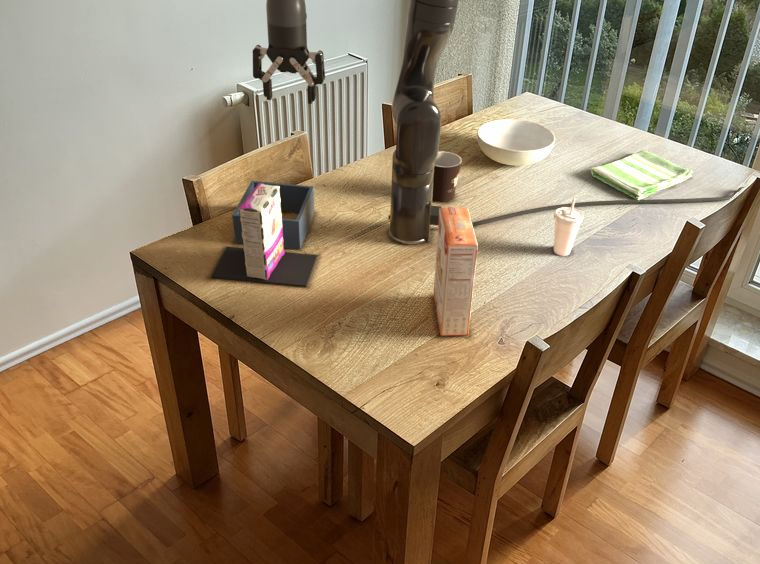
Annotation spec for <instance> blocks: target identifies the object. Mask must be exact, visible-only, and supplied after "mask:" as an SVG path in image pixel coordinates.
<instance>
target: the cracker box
mask: <svg viewBox="0 0 760 564" xmlns="http://www.w3.org/2000/svg"><path fill="white" fill-rule="evenodd" d="M441 207H442V206H441ZM472 223H473V222H472V219H471V214H470V211H469V207H467V206H465V207H464V206H460V207H458V206H455V207H453V206H451V207H450V206H448V207H447V206H443V207H442V208H439V220H438V225H437V237H436V238H437V239H436V250H435V254H436V255H435V266H434V267H435V269H434V281H433V298H434V306H435V311H436V318H437V324H438V329H439V335H440V336H441V337H446V336H449V337H450V336H451V337H452V336H453V337H454V336H455V337H456V336H469V333H470V323H471V313H472V305H473V304H472V303H473V295H474V284H475V276H476V267H477V260H478V259H477V258H478V251H479V249H478V248H479V244H478V241H477V238H476V237H477V236H476V234H475V230H474V226H473V225H472Z"/></svg>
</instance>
